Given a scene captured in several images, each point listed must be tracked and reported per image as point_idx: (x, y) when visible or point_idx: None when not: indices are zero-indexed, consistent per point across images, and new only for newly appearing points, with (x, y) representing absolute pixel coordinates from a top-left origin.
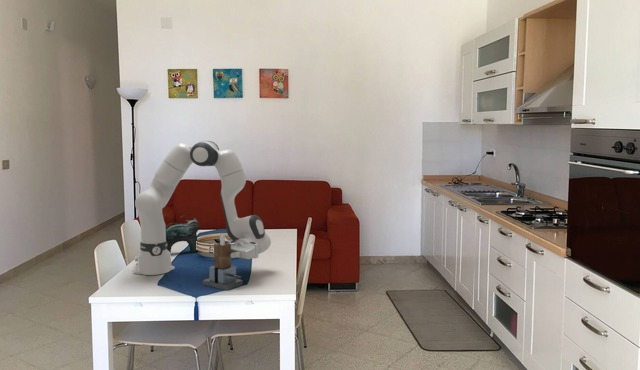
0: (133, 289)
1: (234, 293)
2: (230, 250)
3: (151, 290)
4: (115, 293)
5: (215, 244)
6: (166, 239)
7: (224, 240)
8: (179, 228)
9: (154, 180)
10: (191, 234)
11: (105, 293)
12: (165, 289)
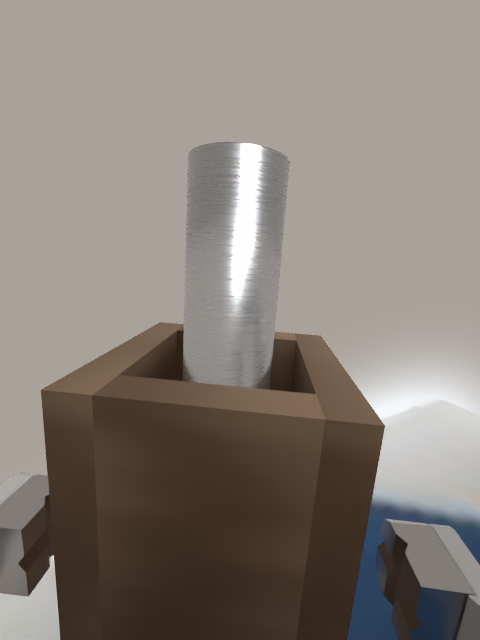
0: (472, 453)
1: (20, 598)
2: (63, 542)
3: (422, 466)
4: (447, 420)
5: (292, 334)
6: None
7: (185, 283)
8: None
9: None
10: None
11: (461, 414)
12: (404, 492)
